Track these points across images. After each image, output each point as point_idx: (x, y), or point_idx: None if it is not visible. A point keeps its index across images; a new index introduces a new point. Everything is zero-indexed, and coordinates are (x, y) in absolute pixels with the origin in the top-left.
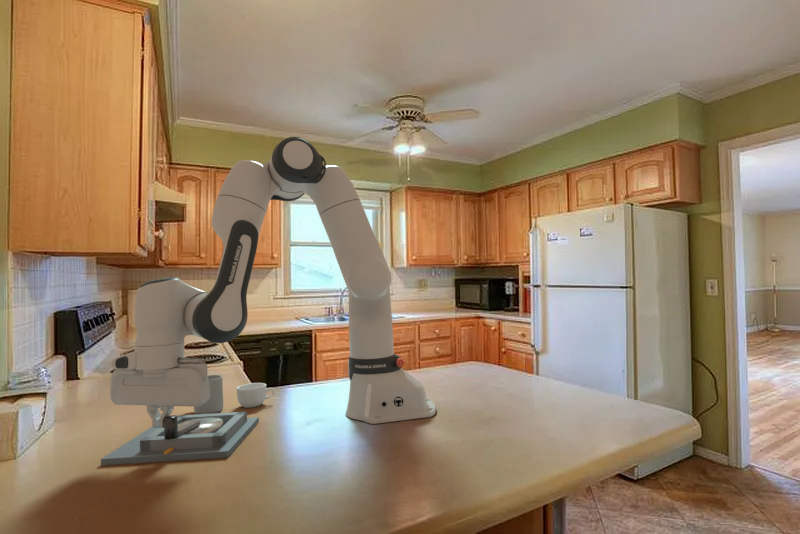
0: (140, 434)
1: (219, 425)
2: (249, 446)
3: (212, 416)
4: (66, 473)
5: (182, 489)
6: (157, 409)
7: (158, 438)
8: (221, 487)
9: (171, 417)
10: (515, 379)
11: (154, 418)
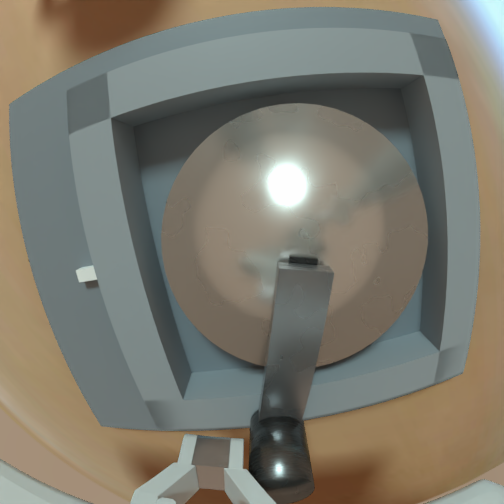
0: (25, 233)
1: (425, 249)
2: (490, 284)
3: (296, 76)
4: (79, 433)
5: (392, 474)
6: (164, 493)
7: (217, 419)
8: (450, 452)
9: (290, 494)
10: None
11: (194, 490)
